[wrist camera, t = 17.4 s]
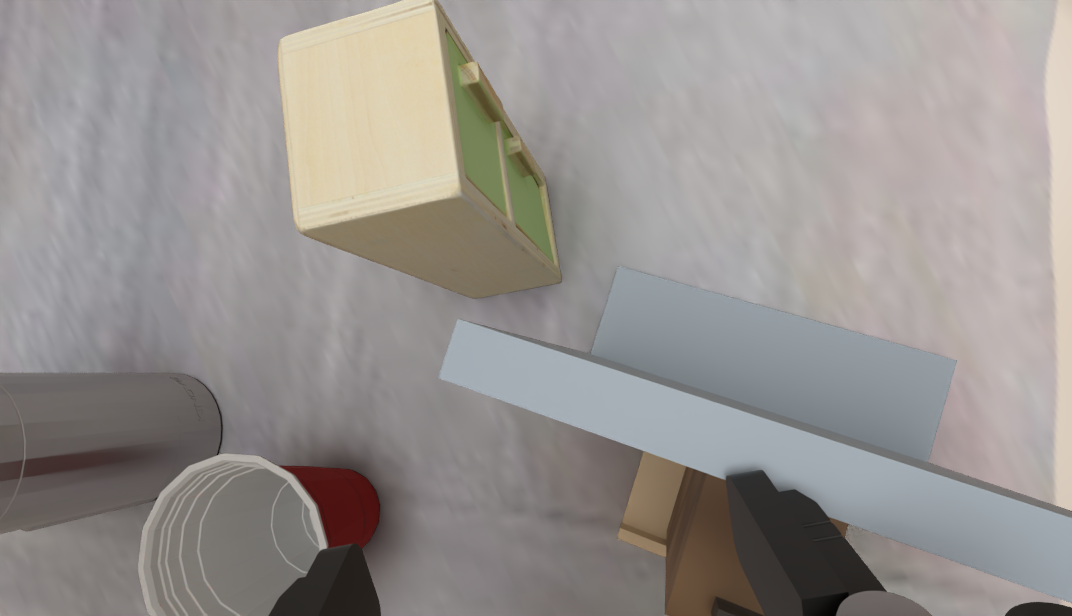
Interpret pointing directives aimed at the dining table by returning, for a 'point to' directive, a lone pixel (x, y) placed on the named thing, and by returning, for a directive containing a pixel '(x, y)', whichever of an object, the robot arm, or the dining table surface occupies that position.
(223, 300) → the dining table surface
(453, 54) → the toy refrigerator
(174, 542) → the plastic cup
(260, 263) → the dining table surface
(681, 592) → the walnut cabinet
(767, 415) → the wall board
